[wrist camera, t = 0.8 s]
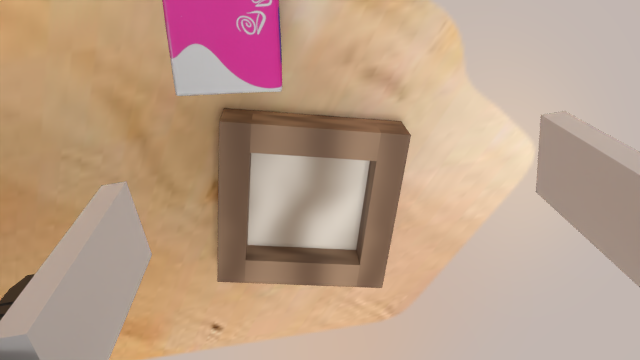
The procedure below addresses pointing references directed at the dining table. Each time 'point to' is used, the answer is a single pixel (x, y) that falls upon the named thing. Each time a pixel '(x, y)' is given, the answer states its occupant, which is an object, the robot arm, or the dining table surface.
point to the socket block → (307, 197)
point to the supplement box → (224, 46)
